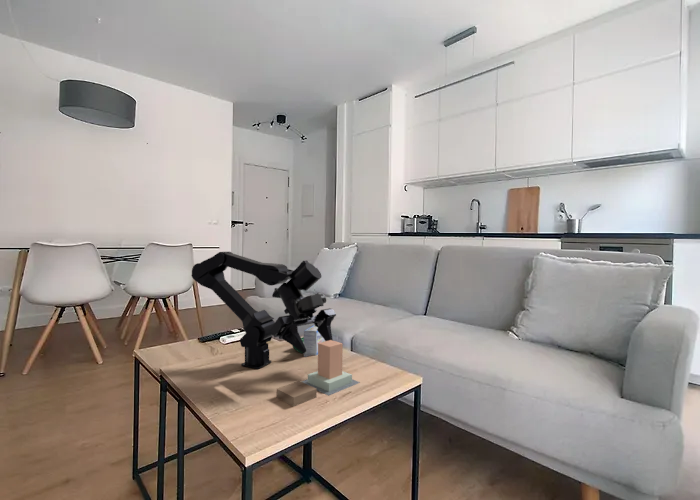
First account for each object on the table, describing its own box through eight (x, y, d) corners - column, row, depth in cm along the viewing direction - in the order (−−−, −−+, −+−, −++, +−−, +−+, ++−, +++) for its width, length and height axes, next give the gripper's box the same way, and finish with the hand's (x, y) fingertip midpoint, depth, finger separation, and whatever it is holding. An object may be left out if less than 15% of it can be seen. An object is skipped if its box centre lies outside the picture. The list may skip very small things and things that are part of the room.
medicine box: (316, 358, 112) (316, 331, 112) (303, 357, 113) (303, 330, 113) (324, 351, 120) (324, 325, 120) (312, 350, 121) (312, 324, 121)
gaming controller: (314, 351, 126) (304, 337, 128) (320, 345, 124) (310, 331, 126) (297, 358, 118) (287, 344, 120) (303, 352, 116) (293, 337, 118)
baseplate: (299, 386, 91) (299, 382, 91) (330, 374, 99) (330, 371, 99) (328, 399, 83) (328, 395, 83) (360, 386, 91) (360, 382, 91)
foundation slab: (307, 382, 91) (307, 374, 91) (330, 374, 97) (330, 366, 97) (329, 391, 85) (329, 383, 85) (352, 382, 91) (352, 374, 91)
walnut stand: (276, 401, 82) (276, 388, 82) (298, 393, 87) (298, 380, 87) (293, 411, 77) (293, 397, 77) (316, 401, 82) (316, 388, 82)
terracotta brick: (317, 374, 91) (318, 343, 91) (330, 370, 94) (330, 340, 94) (329, 379, 88) (329, 347, 88) (342, 374, 91) (342, 343, 91)
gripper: (278, 285, 90) (305, 338, 83) (332, 280, 103) (359, 325, 96) (260, 311, 96) (284, 363, 88) (314, 303, 109) (338, 347, 102)
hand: (318, 348), depth 93 cm, fingers open, 9 cm apart
